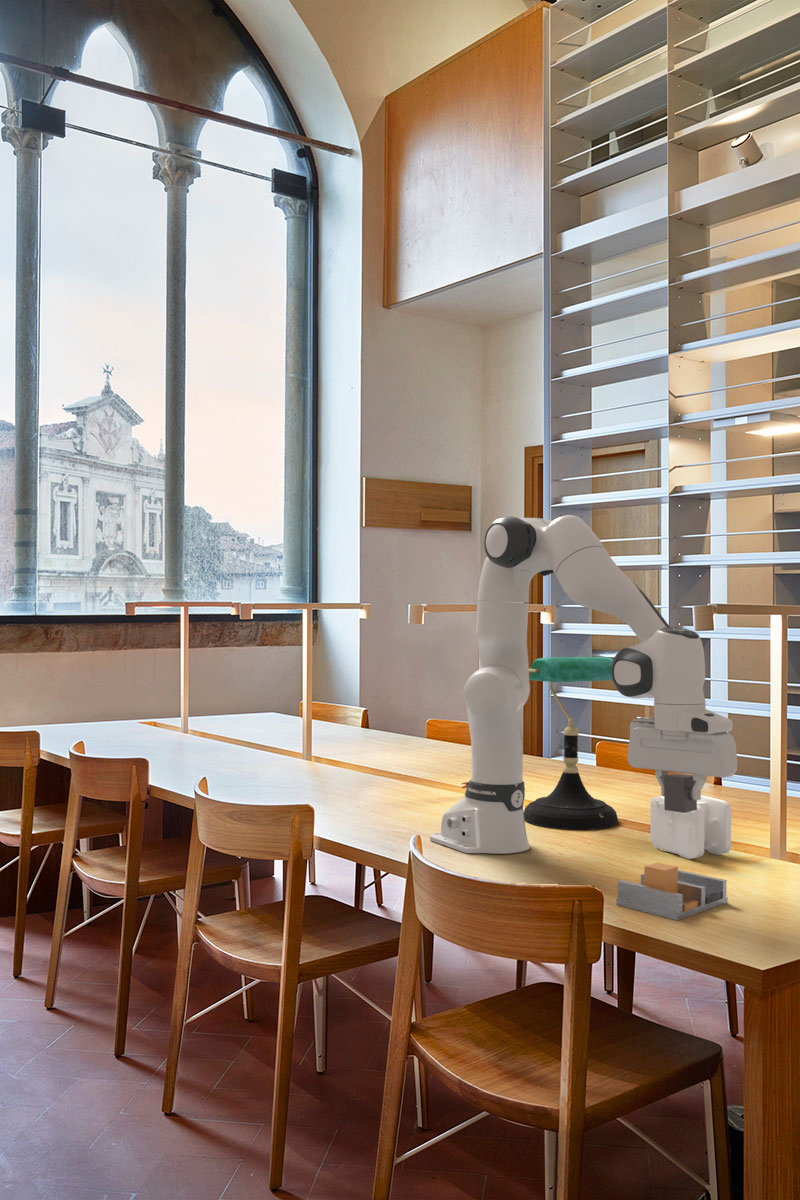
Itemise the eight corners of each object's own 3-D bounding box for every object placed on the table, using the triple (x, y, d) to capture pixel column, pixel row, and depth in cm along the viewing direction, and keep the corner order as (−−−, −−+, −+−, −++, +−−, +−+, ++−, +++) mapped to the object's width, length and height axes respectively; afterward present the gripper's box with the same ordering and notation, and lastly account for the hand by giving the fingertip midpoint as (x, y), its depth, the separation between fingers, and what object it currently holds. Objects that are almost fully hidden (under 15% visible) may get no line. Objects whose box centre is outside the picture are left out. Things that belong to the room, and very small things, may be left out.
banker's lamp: (561, 834, 233) (563, 659, 234) (498, 817, 252) (499, 655, 253) (643, 823, 248) (644, 658, 248) (577, 807, 267) (578, 654, 268)
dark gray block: (664, 809, 180) (663, 775, 180) (677, 806, 183) (676, 773, 183) (684, 812, 177) (683, 778, 177) (696, 809, 180) (696, 775, 180)
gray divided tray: (616, 904, 177) (616, 881, 177) (667, 888, 187) (667, 866, 187) (677, 920, 168) (677, 896, 168) (727, 902, 179) (727, 879, 179)
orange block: (644, 901, 175) (644, 866, 175) (657, 896, 178) (657, 862, 178) (664, 906, 172) (664, 870, 173) (677, 901, 175) (677, 866, 175)
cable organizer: (734, 858, 212) (735, 802, 212) (695, 863, 208) (696, 806, 208) (685, 843, 226) (685, 791, 226) (647, 848, 221) (647, 794, 221)
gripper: (620, 716, 186) (621, 793, 186) (722, 724, 171) (723, 807, 171) (640, 714, 190) (641, 789, 190) (741, 721, 175) (742, 802, 175)
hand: (680, 797), depth 180 cm, fingers closed on dark gray block, 4 cm apart
